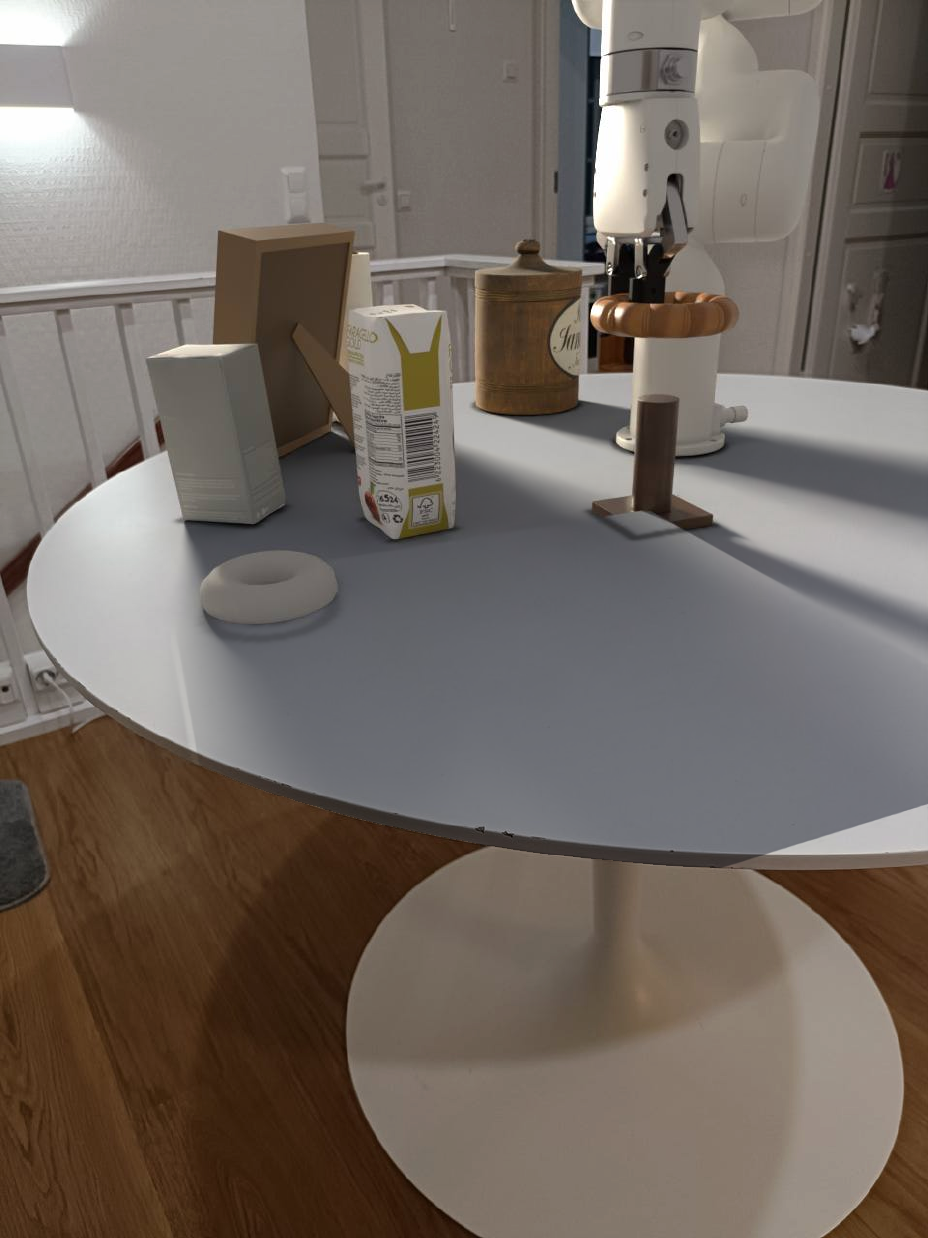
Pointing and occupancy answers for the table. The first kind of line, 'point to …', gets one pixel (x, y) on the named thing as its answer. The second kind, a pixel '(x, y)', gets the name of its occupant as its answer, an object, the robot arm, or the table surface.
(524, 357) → the wooden container
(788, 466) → the table surface
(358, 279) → the paper towel roll
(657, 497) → the post
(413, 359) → the juice carton
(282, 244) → the photo frame
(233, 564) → the donut
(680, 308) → the ring
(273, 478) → the cosmetic box
